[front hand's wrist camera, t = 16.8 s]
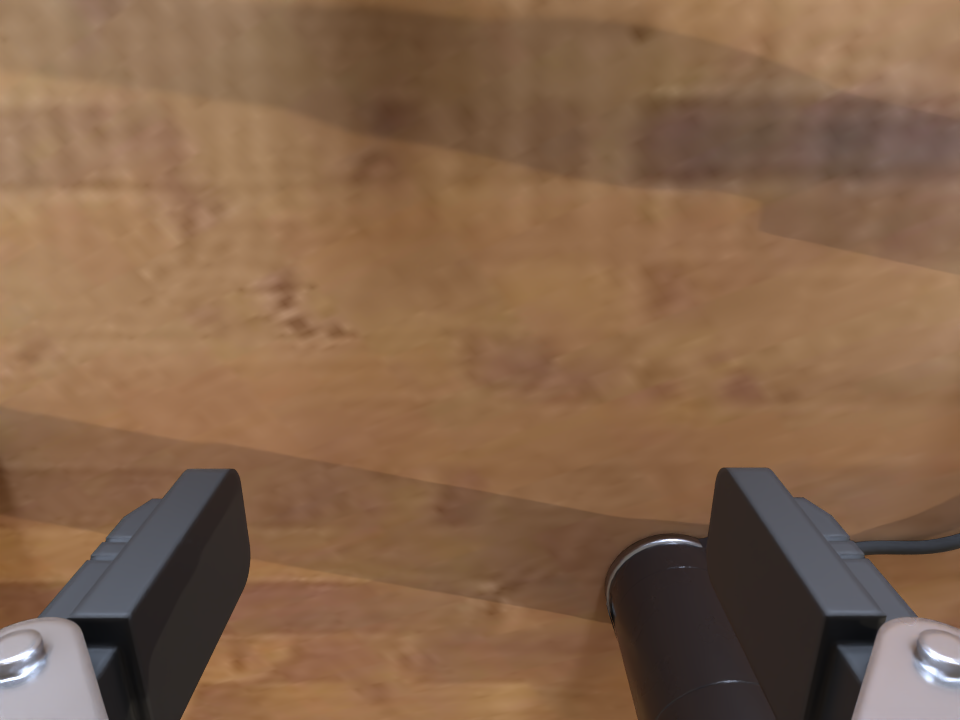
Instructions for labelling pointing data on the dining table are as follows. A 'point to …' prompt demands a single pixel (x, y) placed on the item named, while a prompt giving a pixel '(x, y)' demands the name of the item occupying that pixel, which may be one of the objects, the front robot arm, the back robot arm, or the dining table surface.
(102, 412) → the dining table surface
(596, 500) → the dining table surface
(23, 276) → the dining table surface
